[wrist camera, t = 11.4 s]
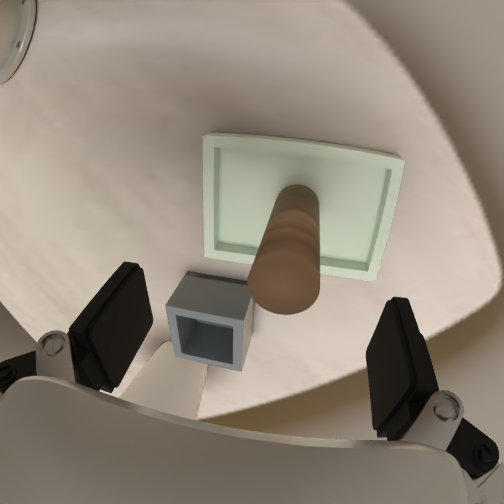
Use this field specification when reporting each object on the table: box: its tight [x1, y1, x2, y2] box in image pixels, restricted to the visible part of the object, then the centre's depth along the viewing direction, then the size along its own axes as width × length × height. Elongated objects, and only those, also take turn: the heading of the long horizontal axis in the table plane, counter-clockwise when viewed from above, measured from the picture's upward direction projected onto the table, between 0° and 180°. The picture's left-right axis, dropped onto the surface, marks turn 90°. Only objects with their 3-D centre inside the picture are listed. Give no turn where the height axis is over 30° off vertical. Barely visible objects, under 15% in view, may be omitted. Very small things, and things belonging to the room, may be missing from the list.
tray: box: [203, 132, 405, 281], centre depth 21 cm, size 14×10×2 cm
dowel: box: [248, 184, 320, 315], centre depth 17 cm, size 3×3×10 cm
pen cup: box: [165, 272, 255, 371], centre depth 26 cm, size 6×6×5 cm
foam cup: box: [119, 341, 208, 421], centre depth 29 cm, size 10×9×13 cm
